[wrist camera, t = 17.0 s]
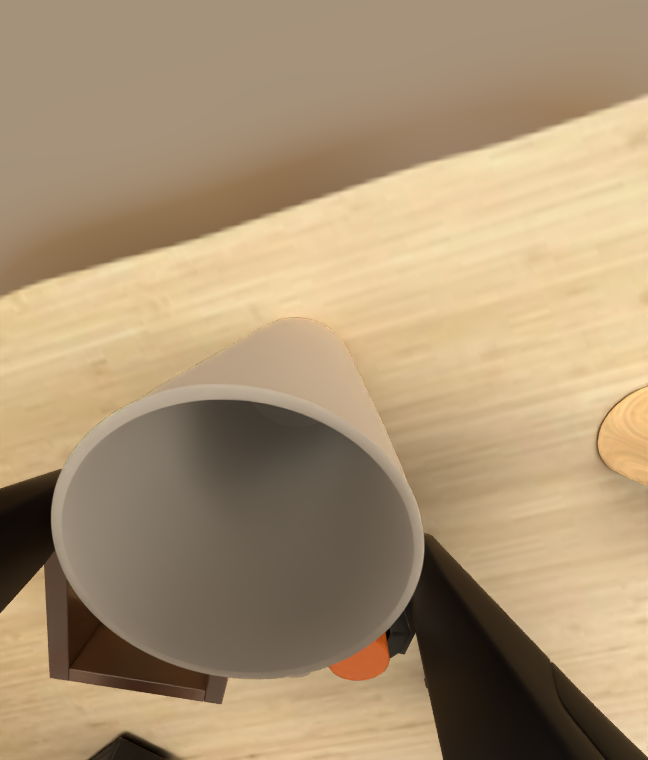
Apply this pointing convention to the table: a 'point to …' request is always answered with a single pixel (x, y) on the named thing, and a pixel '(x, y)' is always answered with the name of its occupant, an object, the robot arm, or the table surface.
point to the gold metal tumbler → (627, 437)
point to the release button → (364, 662)
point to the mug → (244, 512)
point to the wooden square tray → (110, 651)
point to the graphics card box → (125, 752)
